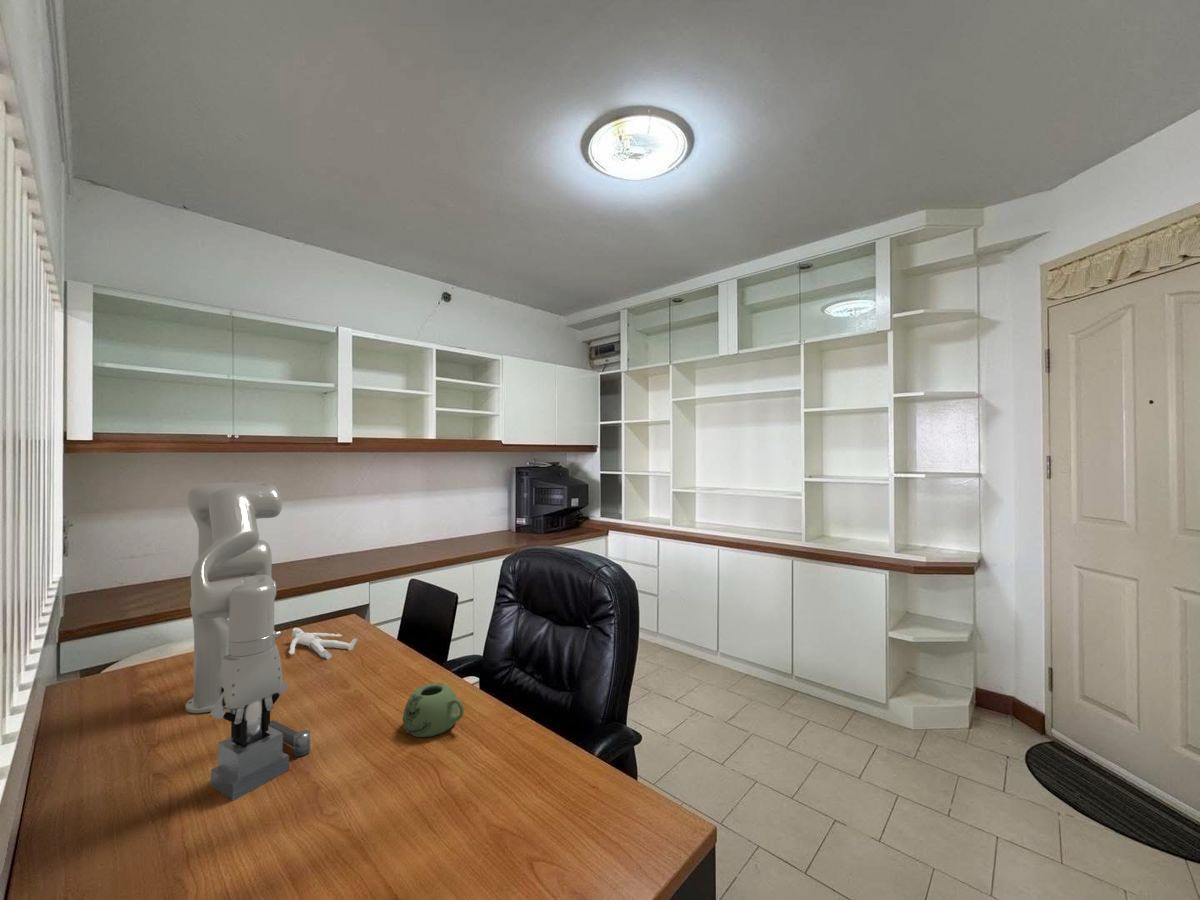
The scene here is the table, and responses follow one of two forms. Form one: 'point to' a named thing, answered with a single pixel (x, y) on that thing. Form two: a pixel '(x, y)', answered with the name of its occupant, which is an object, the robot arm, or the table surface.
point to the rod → (252, 723)
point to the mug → (431, 710)
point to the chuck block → (249, 764)
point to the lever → (294, 738)
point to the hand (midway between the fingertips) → (251, 734)
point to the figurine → (318, 642)
